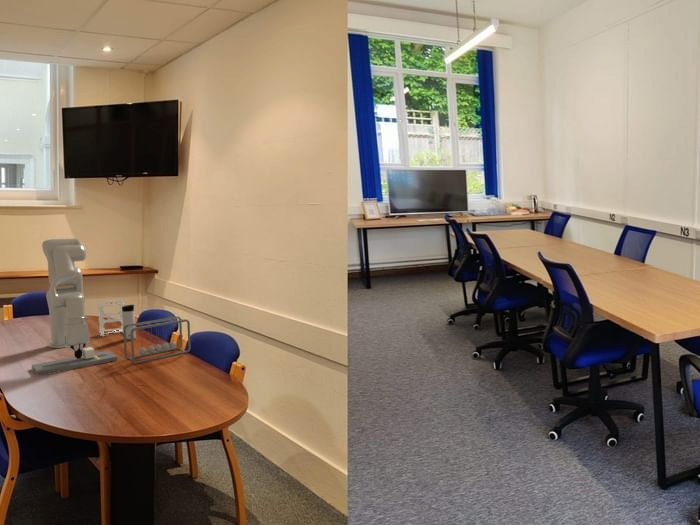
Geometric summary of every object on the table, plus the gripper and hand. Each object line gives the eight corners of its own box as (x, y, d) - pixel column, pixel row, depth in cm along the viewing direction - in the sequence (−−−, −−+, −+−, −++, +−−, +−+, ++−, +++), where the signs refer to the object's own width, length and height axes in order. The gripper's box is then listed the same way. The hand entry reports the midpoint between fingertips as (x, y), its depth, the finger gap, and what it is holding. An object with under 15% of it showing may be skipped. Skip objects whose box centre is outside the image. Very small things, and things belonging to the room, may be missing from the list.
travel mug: (131, 340, 284) (129, 306, 281) (121, 340, 285) (119, 305, 283) (138, 338, 290) (136, 303, 288) (128, 337, 291) (126, 303, 289)
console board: (32, 369, 236) (31, 364, 235) (109, 354, 258) (108, 350, 258) (37, 376, 226) (37, 371, 226) (117, 360, 248) (117, 356, 248)
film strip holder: (124, 329, 311) (122, 297, 308) (127, 334, 299) (125, 300, 297) (98, 332, 303) (96, 299, 301) (100, 337, 291) (98, 303, 289)
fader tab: (82, 356, 246) (82, 348, 246) (91, 355, 249) (91, 347, 248) (85, 359, 242) (85, 350, 242) (94, 357, 245) (94, 349, 245)
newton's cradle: (132, 365, 242) (130, 328, 240) (124, 360, 249) (122, 325, 247) (191, 352, 262) (189, 318, 260) (181, 348, 270) (180, 315, 268)
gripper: (91, 317, 248) (93, 353, 250) (56, 321, 238) (59, 359, 241) (95, 319, 243) (97, 356, 245) (60, 324, 233) (63, 363, 235)
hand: (78, 357), depth 243 cm, fingers closed
